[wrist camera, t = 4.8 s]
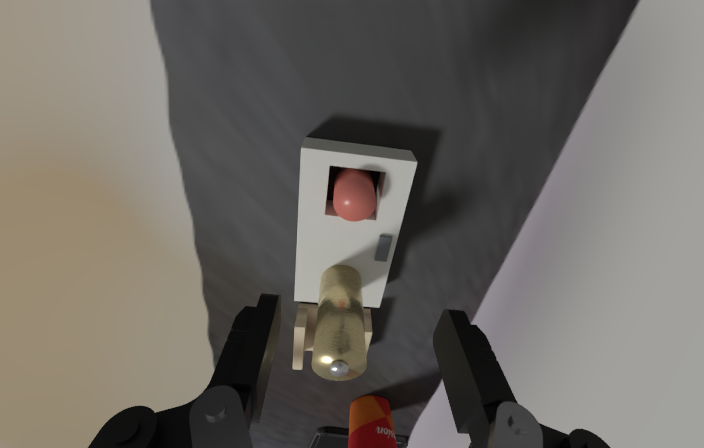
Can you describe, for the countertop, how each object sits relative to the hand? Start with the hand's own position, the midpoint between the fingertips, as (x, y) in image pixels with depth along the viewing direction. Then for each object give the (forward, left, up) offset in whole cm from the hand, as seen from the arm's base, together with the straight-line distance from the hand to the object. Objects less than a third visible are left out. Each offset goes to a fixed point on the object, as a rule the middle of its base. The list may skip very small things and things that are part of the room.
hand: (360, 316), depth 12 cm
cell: (+9, 0, -11) cm, 14 cm away
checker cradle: (+5, 0, -14) cm, 14 cm away
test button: (0, 0, -13) cm, 13 cm away
